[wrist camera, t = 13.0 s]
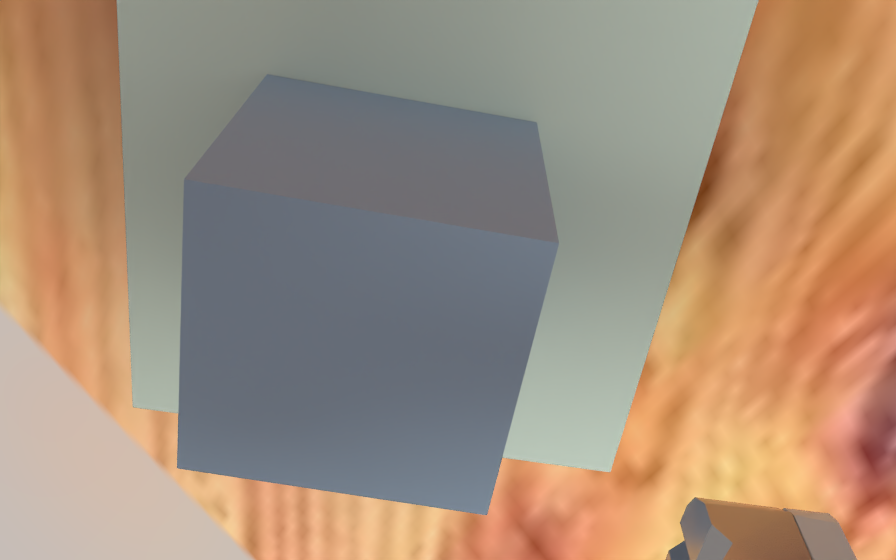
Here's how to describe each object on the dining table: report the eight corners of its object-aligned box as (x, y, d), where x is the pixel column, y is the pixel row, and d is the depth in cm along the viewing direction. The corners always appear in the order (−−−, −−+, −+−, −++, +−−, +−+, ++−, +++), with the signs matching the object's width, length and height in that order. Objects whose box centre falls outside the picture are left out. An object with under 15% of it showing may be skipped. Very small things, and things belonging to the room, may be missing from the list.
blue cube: (267, 73, 16) (184, 179, 11) (536, 122, 16) (558, 242, 11) (250, 306, 18) (176, 468, 14) (484, 344, 18) (486, 515, 14)
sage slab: (185, -138, 18) (112, -125, 14) (708, -52, 18) (764, -19, 14) (186, 315, 23) (133, 407, 19) (590, 372, 23) (610, 472, 20)
